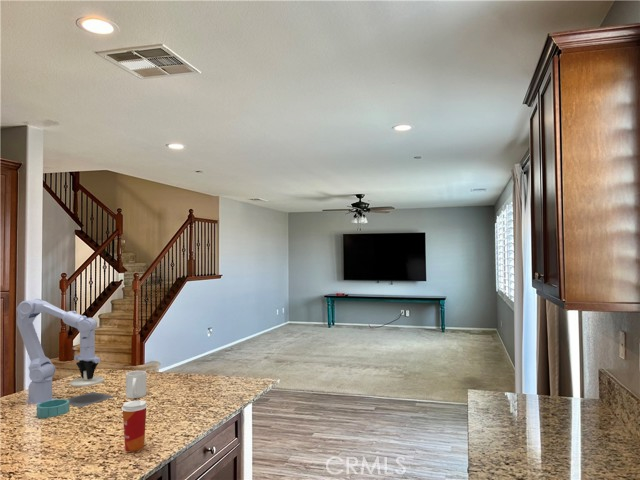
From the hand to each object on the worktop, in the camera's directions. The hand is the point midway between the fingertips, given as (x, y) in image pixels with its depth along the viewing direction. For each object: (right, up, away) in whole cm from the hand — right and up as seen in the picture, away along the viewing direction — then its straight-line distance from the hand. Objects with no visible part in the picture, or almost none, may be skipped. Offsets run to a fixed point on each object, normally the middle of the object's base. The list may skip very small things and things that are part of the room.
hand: (87, 378), depth 197 cm
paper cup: (+41, -7, -51) cm, 66 cm away
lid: (0, -2, 0) cm, 2 cm away
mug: (+20, -9, +2) cm, 22 cm away
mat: (0, -9, 0) cm, 9 cm away
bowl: (-5, -9, -17) cm, 20 cm away
